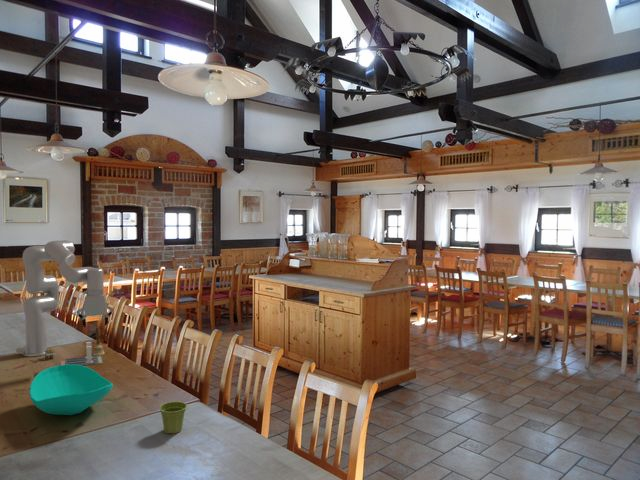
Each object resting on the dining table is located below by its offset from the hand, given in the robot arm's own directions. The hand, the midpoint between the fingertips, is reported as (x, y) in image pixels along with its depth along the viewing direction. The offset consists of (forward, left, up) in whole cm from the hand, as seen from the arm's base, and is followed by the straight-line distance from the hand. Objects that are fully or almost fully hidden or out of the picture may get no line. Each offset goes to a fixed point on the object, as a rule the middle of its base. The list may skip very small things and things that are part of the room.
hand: (95, 326), depth 234 cm
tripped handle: (-3, 0, -19) cm, 19 cm away
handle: (-3, +8, -19) cm, 21 cm away
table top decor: (-12, -57, -21) cm, 61 cm away
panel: (-6, +4, -20) cm, 22 cm away
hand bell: (+2, +16, -21) cm, 26 cm away
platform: (-21, +20, -21) cm, 35 cm away
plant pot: (+20, -91, -21) cm, 96 cm away
